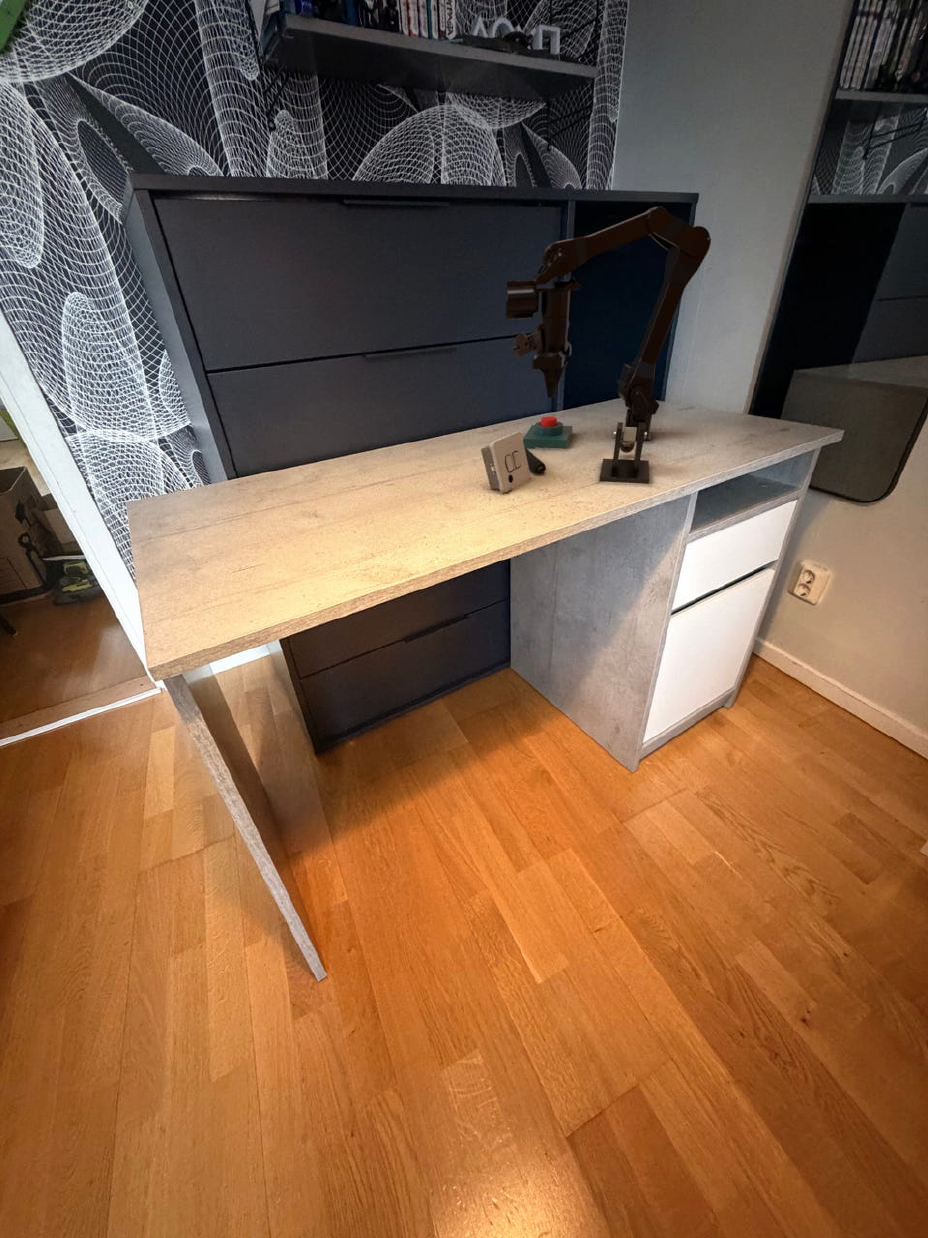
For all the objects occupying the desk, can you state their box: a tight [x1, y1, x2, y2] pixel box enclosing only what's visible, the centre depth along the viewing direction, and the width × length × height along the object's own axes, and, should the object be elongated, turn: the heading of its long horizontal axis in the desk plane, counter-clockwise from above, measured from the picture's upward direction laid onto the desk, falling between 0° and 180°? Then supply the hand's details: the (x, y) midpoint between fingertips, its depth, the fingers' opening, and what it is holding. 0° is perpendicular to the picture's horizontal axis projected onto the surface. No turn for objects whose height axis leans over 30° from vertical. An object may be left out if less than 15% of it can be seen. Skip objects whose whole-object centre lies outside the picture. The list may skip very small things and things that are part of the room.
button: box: [540, 416, 558, 427], centre depth 114 cm, size 4×4×2 cm
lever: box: [620, 426, 637, 454], centre depth 98 cm, size 14×3×3 cm, turn 164°
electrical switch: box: [480, 431, 531, 494], centre depth 94 cm, size 9×5×9 cm, turn 141°
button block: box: [522, 420, 573, 450], centre depth 116 cm, size 12×10×4 cm
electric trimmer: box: [524, 447, 547, 473], centre depth 103 cm, size 4×16×3 cm, turn 16°
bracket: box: [599, 421, 650, 485], centre depth 94 cm, size 11×9×9 cm
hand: (550, 397), depth 111 cm, fingers closed
